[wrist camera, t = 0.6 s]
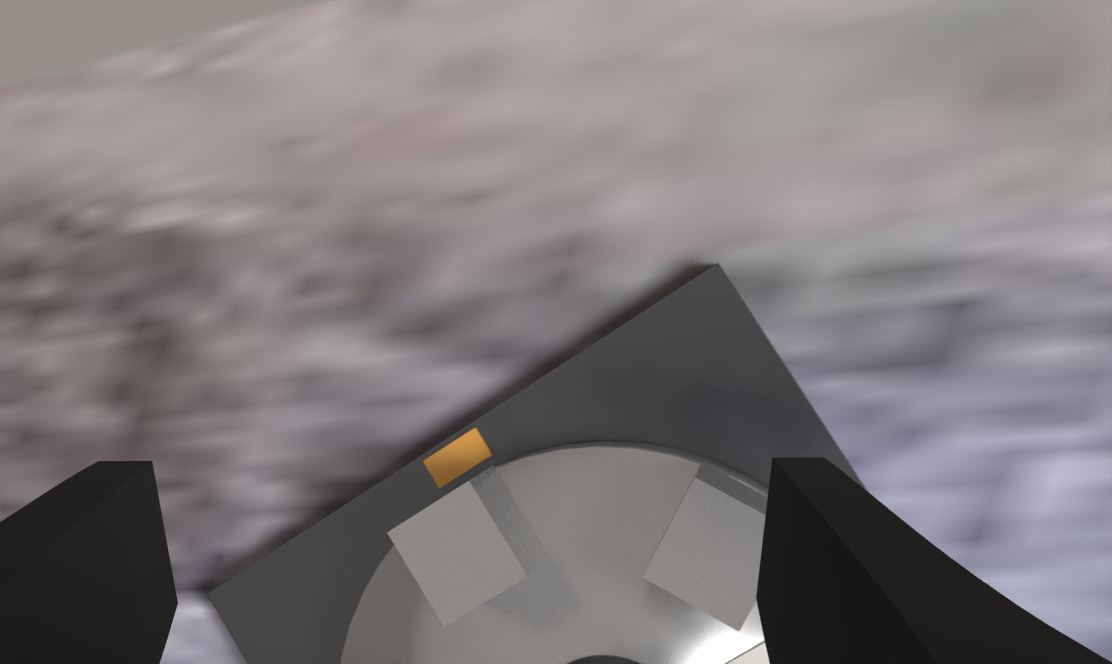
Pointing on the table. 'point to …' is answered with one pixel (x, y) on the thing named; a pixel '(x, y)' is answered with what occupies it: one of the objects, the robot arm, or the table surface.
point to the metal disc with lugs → (574, 565)
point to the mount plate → (540, 423)
